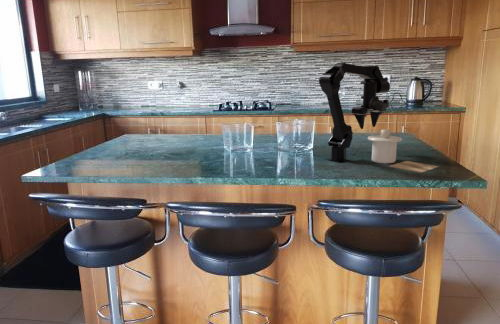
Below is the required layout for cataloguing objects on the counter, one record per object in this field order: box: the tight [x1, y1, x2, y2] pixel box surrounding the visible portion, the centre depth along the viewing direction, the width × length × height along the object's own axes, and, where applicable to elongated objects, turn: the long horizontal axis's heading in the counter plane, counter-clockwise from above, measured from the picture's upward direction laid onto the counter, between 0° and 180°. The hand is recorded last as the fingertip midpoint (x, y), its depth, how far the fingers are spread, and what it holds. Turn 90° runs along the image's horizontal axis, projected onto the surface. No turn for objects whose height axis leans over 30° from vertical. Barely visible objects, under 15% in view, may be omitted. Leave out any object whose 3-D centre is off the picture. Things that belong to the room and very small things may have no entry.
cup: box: [371, 141, 398, 164], centre depth 170 cm, size 10×10×10 cm
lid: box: [367, 128, 403, 143], centre depth 168 cm, size 14×14×4 cm
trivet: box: [389, 160, 439, 174], centre depth 160 cm, size 14×14×1 cm
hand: (367, 127), depth 182 cm, fingers open, 9 cm apart
